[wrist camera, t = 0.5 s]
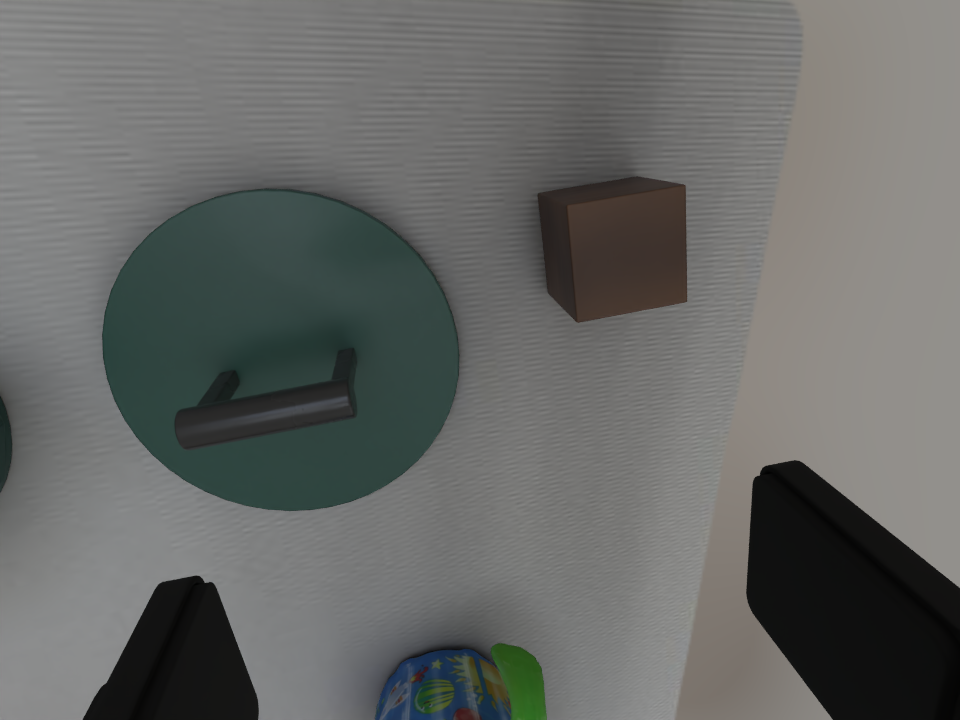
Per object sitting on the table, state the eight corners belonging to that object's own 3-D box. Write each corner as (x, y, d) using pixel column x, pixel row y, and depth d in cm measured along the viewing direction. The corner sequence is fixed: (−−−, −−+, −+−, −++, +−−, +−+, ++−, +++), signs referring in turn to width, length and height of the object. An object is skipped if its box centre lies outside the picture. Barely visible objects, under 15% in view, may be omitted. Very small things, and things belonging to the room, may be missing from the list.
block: (537, 193, 25) (566, 204, 21) (638, 176, 25) (686, 184, 21) (547, 293, 27) (576, 323, 23) (642, 276, 27) (687, 302, 23)
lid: (55, 220, 23) (-62, 251, 17) (425, 160, 24) (437, 168, 18) (182, 524, 28) (126, 627, 22) (478, 463, 30) (500, 547, 24)
